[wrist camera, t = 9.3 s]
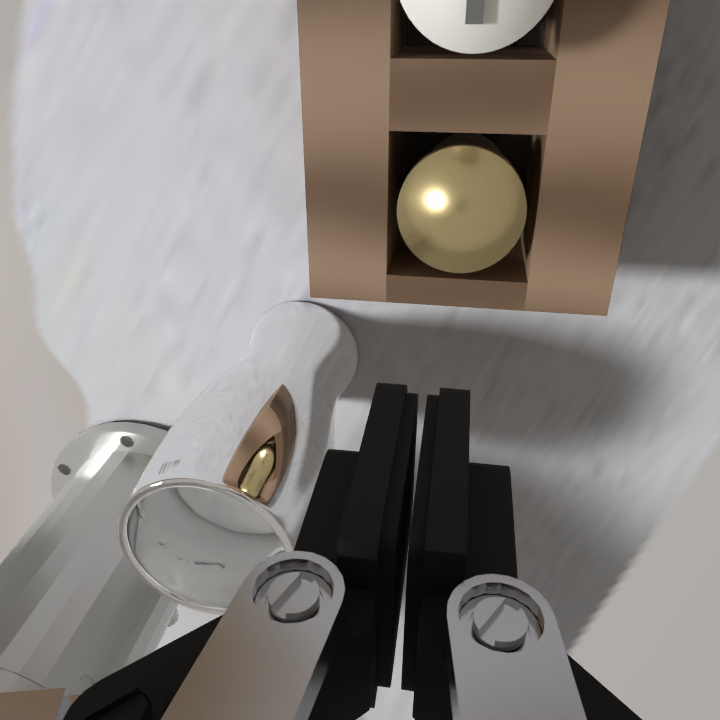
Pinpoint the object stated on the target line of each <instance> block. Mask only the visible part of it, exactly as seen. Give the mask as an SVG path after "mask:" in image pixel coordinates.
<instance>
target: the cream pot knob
mask: <svg viewBox="0 0 720 720" xmlns="http://www.w3.org/2000/svg"><path fill="white" fill-rule="evenodd" d="M553 1H554V0H400V2H401V4H402V6H403V9H404V10H405V12H406V14H407V16H408V18H409V19H410V20H411V22H412V23H413V24H414V26H415V27H416V28H417V29H418V30H419V31H420V32H421V33H422V34H423V35H424V36H425V37H427V38H428V39H429V40H430V41H432V42H433V43H435V44H437V45H439V46H440V47H443V48H445V49H448V50H451V51H455V52H459V53H467V54H478V53H486V52H491V51H495V50H498V49H501V48H503V47H506V46H508V45H510V44H512V43H514V42H515V41H517V40H518V39H520V38H521V37H523V36H524V35H525V34H526V33H528V32H529V31H530V30H531V29H532V28H533V27H534V26H535V25H536V24H537V23H538V22H539V21H540V20H541V19H542V17H543V16H544V15H545V13H546V12H547V11H548V9H549V8H550V6H551V4H552V2H553Z"/></svg>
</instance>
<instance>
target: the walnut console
mask: <svg viewBox="0 0 720 720" xmlns="http://www.w3.org/2000/svg"><path fill="white" fill-rule="evenodd" d="M669 3H670V0H554V1H553V2H552V4H551V6H550V8H549V9H548V11H547V13H546V22H545V30H544V38H543V46H506V47H503V48H501V49H498V50H495V51H491V52H486V53H478V54H467V53H459V52H455V51H451V50H448V49H445V48H443V47H440V46H429V45H407V23H408V16H407V14H406V12H405V10H404V9H403V6H402V4H401V2H400V0H297V11H298V34H299V56H300V78H301V100H302V122H303V144H304V166H305V188H306V211H307V233H308V255H309V277H310V297H314V298H330V299H346V300H362V301H378V302H394V303H410V304H426V305H442V306H458V307H474V308H490V309H506V310H522V311H537V312H553V313H569V314H585V315H601V316H607V313H608V308H609V303H610V298H611V293H612V288H613V283H614V278H615V273H616V268H617V263H618V258H619V253H620V248H621V243H622V238H623V233H624V228H625V223H626V218H627V213H628V208H629V203H630V198H631V193H632V188H633V183H634V178H635V173H636V168H637V163H638V158H639V153H640V148H641V143H642V138H643V133H644V128H645V123H646V118H647V113H648V108H649V103H650V98H651V93H652V88H653V83H654V78H655V73H656V68H657V63H658V58H659V53H660V48H661V43H662V38H663V33H664V28H665V23H666V18H667V13H668V8H669ZM404 131H413V132H452V133H491V134H530V135H532V138H531V147H530V155H529V163H528V172H527V180H526V188H525V195H526V201H527V216H526V221H525V225H524V228H523V231H522V234H521V236H520V238H519V240H518V241H517V243H516V244H515V246H514V247H513V248H512V249H511V251H510V252H509V253H508V254H507V255H506V256H504V257H503V258H502V259H501V260H499V261H498V262H496V263H495V264H493V265H491V266H489V267H487V268H484V269H482V270H479V271H475V272H469V273H451V272H446V271H442V270H439V269H436V268H433V267H431V266H429V265H428V264H426V263H424V262H423V261H421V260H420V259H419V258H418V257H417V256H416V255H414V254H413V252H412V251H411V250H410V249H409V248H408V246H407V244H406V243H405V241H404V239H403V237H402V235H401V233H400V229H399V226H398V221H397V202H398V197H399V193H400V191H401V188H402V185H403V166H404Z"/></svg>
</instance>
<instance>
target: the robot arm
mask: <svg viewBox="0 0 720 720" xmlns="http://www.w3.org/2000/svg"><path fill="white" fill-rule="evenodd" d="M417 411H418V394H413V393H407V385H400V384H388V383H377V385H376V389H375V393H374V397H373V400H372V404H371V408H370V412H369V416H368V420H367V424H366V428H365V431H364V435H363V439H362V443H361V447H360V451H359V452H356V451H345V450H335V449H328V450H327V452H326V454H325V457H324V460H323V463H322V466H321V469H320V472H319V475H318V478H317V481H316V484H315V487H314V490H313V493H312V496H311V499H310V502H309V505H308V508H307V511H306V514H305V517H304V520H303V523H302V526H301V529H300V532H299V535H298V539H297V542H296V545H295V548H294V551H291V552H282V553H279V554H277V555H274V556H271V557H268V558H267V559H265V560H264V561H262V562H261V563H259V564H258V565H256V566H255V567H254V568H253V569H252V571H251V572H250V573H249V574H248V575H247V577H246V578H245V580H244V581H243V583H242V585H241V586H240V588H239V590H238V591H237V593H236V595H235V596H234V598H233V600H232V601H231V603H230V605H229V606H228V608H227V610H226V611H225V613H224V614H223V615H221V616H220V617H218V618H216V619H214V620H212V621H210V622H208V623H206V624H204V625H203V626H201V627H199V628H197V629H195V630H194V631H191V632H190V633H188V634H186V635H184V636H182V637H180V638H178V639H176V640H174V641H173V642H171V643H169V644H167V645H165V646H163V647H161V648H159V649H158V650H156V648H157V646H158V644H159V642H160V640H161V638H162V636H163V634H164V632H165V630H166V628H167V627H169V626H171V625H173V624H175V623H176V621H177V620H178V611H177V606H178V603H176V602H174V601H172V600H170V599H168V598H166V597H165V596H163V595H161V594H160V593H158V592H157V591H156V590H154V589H153V588H152V587H150V586H149V585H148V584H147V583H146V582H145V581H144V580H143V579H142V578H141V577H140V576H139V575H138V574H137V573H136V572H135V571H134V569H133V568H132V567H131V565H130V564H129V562H128V561H127V559H126V557H125V555H124V553H123V551H122V549H121V546H120V542H119V538H118V519H119V515H120V512H121V510H122V507H123V506H124V504H125V502H126V501H127V500H128V499H129V497H130V496H131V494H132V492H133V490H134V489H135V487H136V485H137V483H138V481H139V479H140V477H141V476H142V474H143V472H144V470H145V468H146V467H147V465H148V463H149V461H150V459H151V458H152V456H153V454H154V452H155V451H156V449H157V448H158V446H159V445H160V443H161V442H162V440H163V439H164V437H165V435H166V434H167V432H168V431H166V430H163V429H160V428H156V427H153V426H149V425H146V424H139V423H132V422H109V423H105V424H100V425H96V426H93V427H90V428H88V429H86V430H84V431H82V432H80V433H79V434H78V435H76V436H75V437H74V438H73V439H72V440H70V441H69V442H68V444H67V445H66V446H65V447H64V448H63V449H62V451H61V452H60V453H59V454H58V456H57V458H56V460H55V462H54V464H53V468H52V473H51V492H52V495H53V500H52V502H51V503H50V504H49V505H48V507H47V508H46V509H45V510H44V511H43V512H42V514H41V515H40V516H39V517H38V518H37V519H36V521H35V522H34V523H33V524H32V525H31V527H30V528H29V529H28V530H27V531H26V533H25V534H24V535H23V536H22V537H21V539H20V540H19V541H18V542H17V543H16V545H15V546H14V547H13V548H12V549H11V551H10V552H9V553H8V554H7V555H6V557H5V558H4V559H3V560H2V561H1V562H0V720H356V719H357V718H359V717H360V716H362V715H363V714H365V713H366V712H367V711H369V709H370V708H374V707H375V700H376V693H377V686H382V687H389V688H390V686H391V680H392V672H393V664H394V656H395V648H396V640H397V632H398V624H399V616H400V608H401V600H402V592H403V584H404V576H405V568H406V561H407V553H408V565H407V585H406V604H405V624H404V644H403V664H402V683H401V689H402V690H409V691H414V701H413V716H412V717H413V718H414V719H415V720H642V719H641V718H639V717H638V716H637V715H636V714H635V713H634V712H633V711H631V710H630V709H629V708H628V707H627V706H626V705H625V704H623V703H622V702H621V701H620V700H619V699H618V698H617V697H616V696H614V695H613V694H612V693H611V692H610V691H609V690H607V689H606V688H605V687H604V686H603V685H602V684H601V683H600V682H598V681H597V680H596V679H595V678H594V677H593V676H592V675H590V674H589V673H588V672H587V671H586V670H584V669H583V668H582V667H581V666H580V665H579V664H578V663H577V662H576V661H574V660H573V659H572V658H571V657H570V656H569V655H568V654H567V653H566V650H565V647H564V643H563V640H562V637H561V633H560V630H559V627H558V624H557V620H556V617H555V615H554V613H553V611H552V609H551V606H550V604H549V602H548V601H547V600H546V599H545V598H544V597H543V596H542V595H541V594H540V593H539V592H538V591H537V590H536V589H534V588H533V587H531V586H530V585H528V584H527V583H525V582H524V581H521V580H518V578H517V563H516V548H515V534H514V519H513V504H512V489H511V474H510V468H509V466H501V465H490V464H480V463H469V429H470V390H461V389H449V388H440V394H439V396H437V395H427V403H426V411H425V419H424V427H423V435H422V443H421V451H420V459H419V467H418V475H417V483H416V491H415V499H414V507H413V515H412V506H413V487H414V468H415V449H416V430H417ZM411 519H412V523H411ZM410 529H411V531H410ZM409 537H410V540H409ZM408 545H409V551H408ZM155 650H156V651H155Z"/></svg>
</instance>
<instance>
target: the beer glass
mask: <svg viewBox="0 0 720 720" xmlns="http://www.w3.org/2000/svg"><path fill="white" fill-rule="evenodd" d="M357 363H358V351H357V346H356V342H355V339H354V337H353V335H352V333H351V331H350V330H349V328H348V327H347V325H346V324H345V323H344V322H343V321H342V320H341V319H340V318H339V317H338V316H337V315H335V314H334V313H333V312H331V311H330V310H328V309H326V308H324V307H322V306H319V305H316V304H313V303H309V302H301V301H293V302H286V303H282V304H279V305H276V306H274V307H272V308H270V309H269V310H267V311H266V312H265V313H263V314H262V315H261V316H260V317H259V318H258V320H257V321H256V322H255V324H254V326H253V328H252V331H251V334H250V338H249V342H248V346H247V349H246V351H245V353H244V355H243V356H242V357H241V359H240V360H239V361H238V362H237V363H236V364H235V365H234V366H232V367H231V368H230V369H229V370H228V371H226V372H225V373H224V374H223V375H221V376H220V377H219V378H218V379H217V380H216V381H214V382H213V383H212V384H211V385H210V386H209V387H207V388H206V389H205V390H204V391H203V392H202V393H201V394H200V395H199V396H198V397H197V398H196V399H195V400H194V401H193V402H192V403H191V404H190V405H189V406H188V407H187V408H186V409H185V410H184V411H183V413H182V414H181V415H180V417H179V418H178V419H177V420H176V422H175V423H174V424H173V426H172V427H171V428H170V429H169V431H168V432H167V434H166V435H165V437H164V439H163V440H162V442H161V443H160V445H159V446H158V448H157V449H156V451H155V452H154V454H153V456H152V458H151V459H150V461H149V463H148V465H147V467H146V468H145V470H144V472H143V474H142V476H141V477H140V479H139V481H138V483H137V485H136V487H135V489H134V490H133V492H132V494H131V496H130V497H129V499H128V500H127V501H126V502H125V504H124V506H123V507H122V510H121V512H120V515H119V519H118V538H119V542H120V546H121V549H122V551H123V553H124V555H125V557H126V559H127V561H128V562H129V564H130V565H131V567H132V568H133V569H134V571H135V572H136V573H137V574H138V575H139V576H140V577H141V578H142V579H143V580H144V581H145V582H146V583H147V584H148V585H149V586H150V587H152V588H153V589H154V590H156V591H157V592H158V593H160V594H161V595H163V596H165V597H166V598H168V599H170V600H172V601H174V602H176V603H178V604H180V605H182V606H185V607H188V608H191V609H194V610H196V611H200V612H204V613H209V614H215V615H223V614H224V613H225V611H226V610H227V608H228V606H229V605H230V603H231V601H232V600H233V598H234V596H235V595H236V593H237V591H238V590H239V588H240V586H241V585H242V583H243V581H244V580H245V578H246V577H247V575H248V574H249V573H250V572H251V571H252V569H253V568H254V567H255V566H256V565H258V564H259V563H261V562H262V561H264V560H265V559H267V558H268V557H271V556H274V555H277V554H279V553H282V552H291V551H294V548H295V545H296V542H297V539H298V535H299V532H300V529H301V526H302V523H303V520H304V517H305V514H306V511H307V508H308V505H309V502H310V499H311V496H312V493H313V490H314V487H315V484H316V481H317V478H318V475H319V472H320V469H321V466H322V463H323V460H324V457H325V454H326V452H327V450H328V449H334V432H335V410H336V404H337V400H338V398H339V397H340V395H341V394H342V392H343V391H344V390H345V389H346V387H347V386H348V385H349V383H350V382H351V380H352V378H353V376H354V374H355V371H356V368H357Z"/></svg>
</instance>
